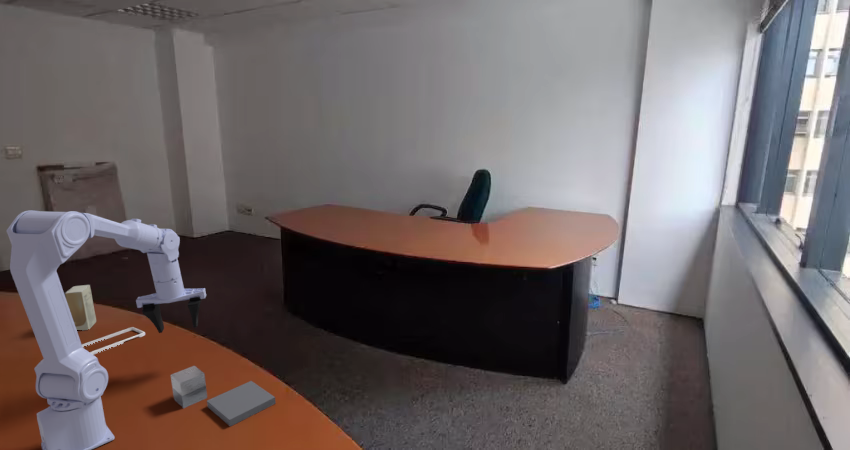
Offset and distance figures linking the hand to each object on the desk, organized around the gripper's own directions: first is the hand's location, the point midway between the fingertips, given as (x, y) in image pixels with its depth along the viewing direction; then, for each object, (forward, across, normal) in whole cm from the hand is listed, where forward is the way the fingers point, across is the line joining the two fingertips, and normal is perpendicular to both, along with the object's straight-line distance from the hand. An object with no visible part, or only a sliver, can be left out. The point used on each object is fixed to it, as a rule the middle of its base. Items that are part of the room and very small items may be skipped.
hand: (178, 328), depth 110 cm
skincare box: (+12, +35, -33) cm, 50 cm away
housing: (+9, -4, +16) cm, 19 cm away
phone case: (+12, +23, -19) cm, 32 cm away
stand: (+9, -15, +22) cm, 28 cm away
